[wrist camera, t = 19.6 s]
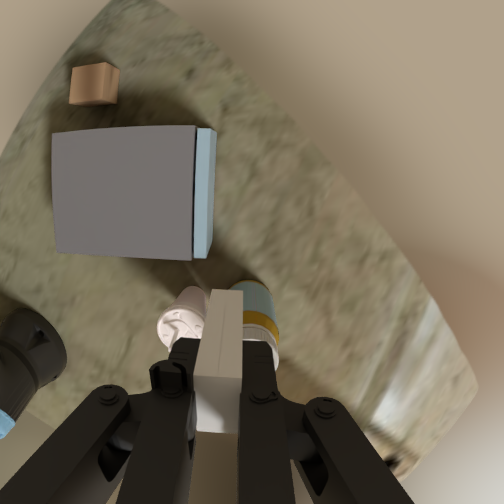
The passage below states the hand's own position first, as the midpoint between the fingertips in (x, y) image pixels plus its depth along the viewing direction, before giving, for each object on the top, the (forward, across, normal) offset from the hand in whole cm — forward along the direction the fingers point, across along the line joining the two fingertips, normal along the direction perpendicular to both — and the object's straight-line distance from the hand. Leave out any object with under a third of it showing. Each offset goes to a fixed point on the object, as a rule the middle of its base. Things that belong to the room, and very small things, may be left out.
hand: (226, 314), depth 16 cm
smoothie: (+29, -6, -13) cm, 32 cm away
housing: (+28, -14, +3) cm, 32 cm away
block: (+28, -20, +17) cm, 39 cm away
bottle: (+29, +2, -13) cm, 31 cm away
